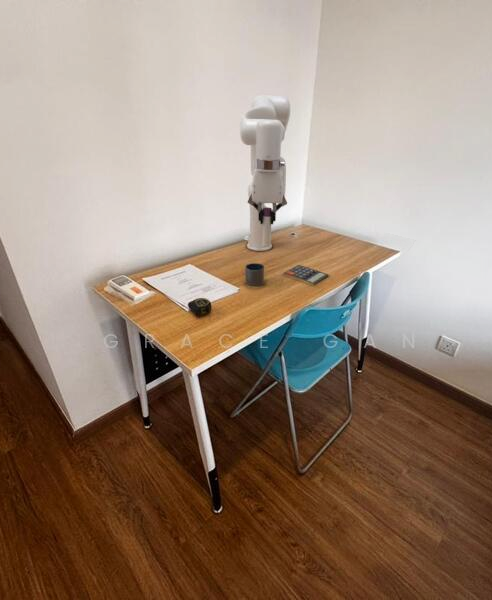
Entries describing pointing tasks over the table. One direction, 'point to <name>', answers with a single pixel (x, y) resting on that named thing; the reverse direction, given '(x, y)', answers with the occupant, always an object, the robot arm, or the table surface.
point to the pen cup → (254, 274)
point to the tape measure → (200, 306)
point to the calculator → (306, 274)
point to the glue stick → (266, 227)
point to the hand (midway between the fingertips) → (267, 222)
